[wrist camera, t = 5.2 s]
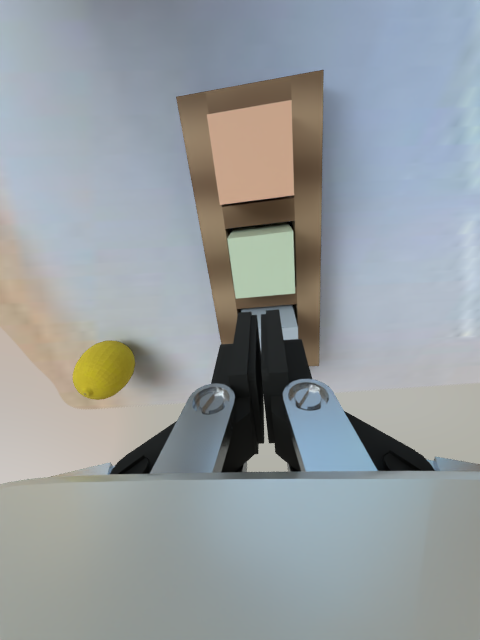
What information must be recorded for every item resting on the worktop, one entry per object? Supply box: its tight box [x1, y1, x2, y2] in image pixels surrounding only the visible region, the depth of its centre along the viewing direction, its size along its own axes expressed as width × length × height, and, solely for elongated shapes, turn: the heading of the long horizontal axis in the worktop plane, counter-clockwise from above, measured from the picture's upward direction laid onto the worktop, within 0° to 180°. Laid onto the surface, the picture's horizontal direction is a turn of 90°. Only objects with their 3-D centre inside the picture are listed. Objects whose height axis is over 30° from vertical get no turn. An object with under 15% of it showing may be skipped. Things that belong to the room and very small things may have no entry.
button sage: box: [227, 222, 295, 299], centre depth 23 cm, size 5×5×5 cm
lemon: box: [73, 341, 135, 400], centre depth 29 cm, size 6×6×8 cm
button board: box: [176, 70, 323, 366], centre depth 25 cm, size 24×10×3 cm, turn 7°
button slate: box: [241, 304, 298, 349], centre depth 26 cm, size 5×5×5 cm
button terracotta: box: [207, 100, 294, 205], centre depth 19 cm, size 5×5×5 cm
